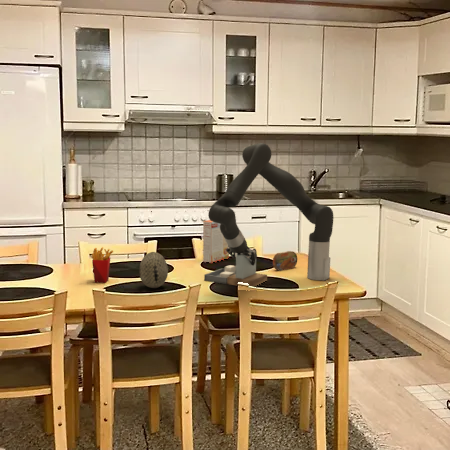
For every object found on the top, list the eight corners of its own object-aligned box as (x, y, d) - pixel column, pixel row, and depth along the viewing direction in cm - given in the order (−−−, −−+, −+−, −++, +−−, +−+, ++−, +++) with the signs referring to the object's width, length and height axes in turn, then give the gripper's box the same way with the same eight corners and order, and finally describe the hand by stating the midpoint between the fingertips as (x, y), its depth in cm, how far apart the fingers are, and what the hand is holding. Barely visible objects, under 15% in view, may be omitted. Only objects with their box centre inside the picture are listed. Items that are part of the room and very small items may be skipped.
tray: (242, 277, 276) (243, 271, 275) (226, 284, 263) (226, 278, 263) (221, 273, 281) (221, 268, 281) (204, 280, 268) (204, 274, 268)
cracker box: (220, 257, 316) (221, 217, 313) (229, 259, 312) (230, 218, 309) (202, 261, 305) (202, 220, 302) (211, 263, 302) (212, 221, 298)
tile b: (233, 279, 269) (234, 272, 269) (228, 281, 265) (228, 274, 265) (224, 277, 271) (225, 271, 271) (219, 280, 267) (219, 273, 267)
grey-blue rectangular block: (255, 273, 271) (256, 251, 269) (242, 278, 261) (243, 255, 259) (248, 272, 273) (249, 250, 271) (235, 277, 262) (236, 254, 261)
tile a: (235, 266, 275) (229, 265, 276) (230, 267, 271) (224, 266, 273) (235, 275, 276) (229, 274, 277) (230, 277, 272) (224, 276, 273)
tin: (275, 271, 288) (276, 254, 287) (271, 270, 291) (271, 253, 289) (297, 267, 298) (298, 250, 297) (292, 266, 301) (293, 249, 299)
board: (266, 281, 269) (267, 274, 269) (252, 288, 257) (252, 281, 257) (242, 277, 275) (243, 271, 275) (227, 284, 263) (227, 277, 263)
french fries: (95, 279, 266) (95, 245, 264) (114, 279, 266) (114, 245, 263) (90, 284, 257) (90, 249, 255) (110, 284, 257) (110, 249, 255)
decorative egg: (170, 290, 251) (170, 254, 248) (141, 292, 247) (141, 255, 245) (164, 283, 262) (165, 248, 259) (137, 284, 258) (137, 249, 256)
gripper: (253, 234, 253) (265, 258, 265) (223, 230, 260) (236, 253, 273) (247, 249, 250) (259, 272, 262) (216, 244, 257) (230, 267, 269)
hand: (247, 262), depth 267 cm, fingers open, 5 cm apart
